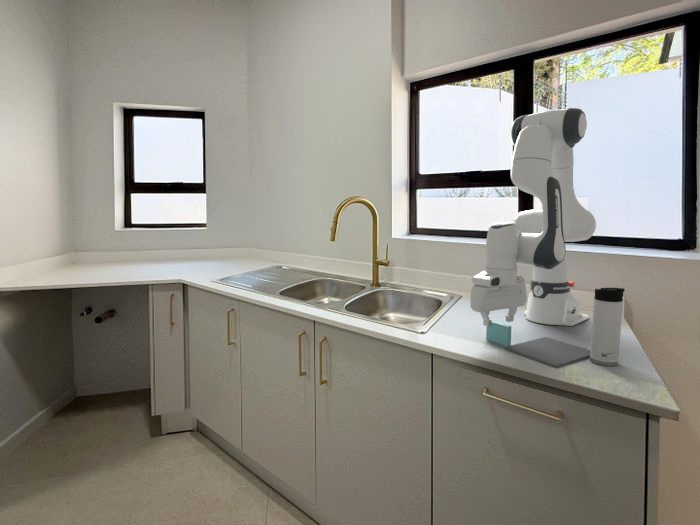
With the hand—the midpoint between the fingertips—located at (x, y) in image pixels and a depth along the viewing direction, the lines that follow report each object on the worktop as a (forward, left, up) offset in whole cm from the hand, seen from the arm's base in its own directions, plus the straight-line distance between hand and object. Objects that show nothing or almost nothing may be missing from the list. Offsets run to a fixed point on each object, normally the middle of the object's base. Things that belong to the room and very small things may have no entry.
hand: (498, 323), depth 122 cm
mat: (-7, +12, -6) cm, 15 cm away
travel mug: (-12, +24, -6) cm, 28 cm away
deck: (-1, -1, -6) cm, 6 cm away
